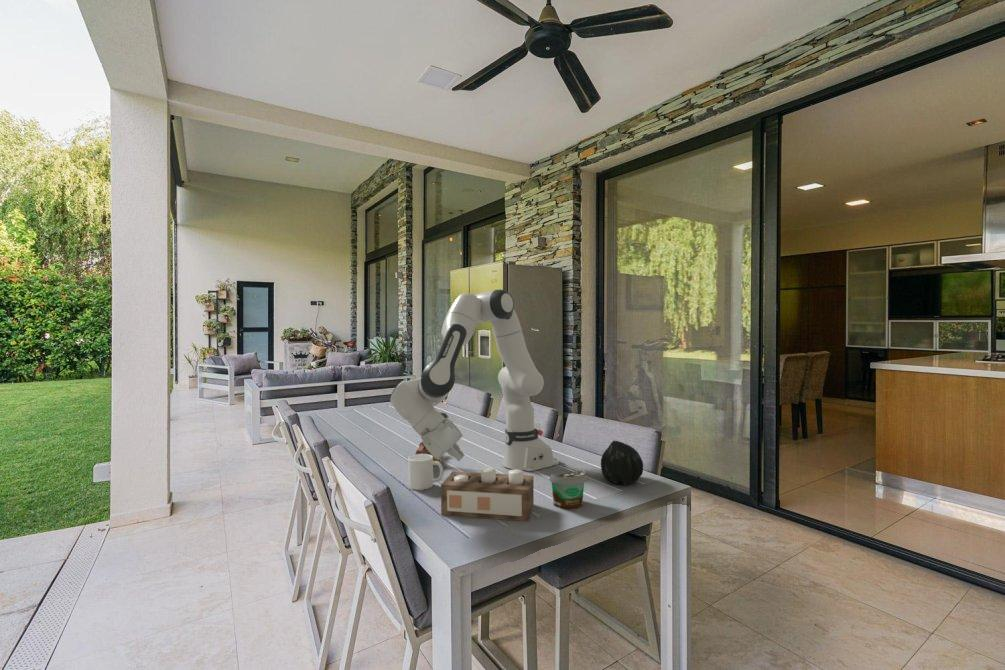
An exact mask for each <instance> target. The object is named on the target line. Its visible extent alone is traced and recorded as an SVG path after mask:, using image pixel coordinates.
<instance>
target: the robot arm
mask: <svg viewBox="0 0 1005 670" xmlns="http://www.w3.org/2000/svg"><path fill="white" fill-rule="evenodd" d="M514 308H515V301H514V299H513V296H512V294H510V292H509V291H508V290H506V289H495V290H487V291H482V292H479V293H476V294H473V293H469V292H464V293H463V292H462V293H460V294H459V295H458V296H457V297H456V298H455V300H454V301H453V302H452V304H451V306H450V307H449V309H448V311H447V313H446V315H445V318H444V320H443V322H442V327H441V333H440V334H441V337H442V343H441V345H440V347H439V350H438V352H437V354H436V356H435V358H434V359H433V360H432V361H431V362H430V363H429V364H428V365H427V366H425V368H424V369H423V371H422V372H421V375H420V377H419V378H415V379H411V380H401V381H400V382H399V383H398V384H397V385H396V386H395V387H394V388H393V390H392V392H391V394H390V403H391V405H392V406H393V408H394V409H395V410H396V412H397V413H398V414H399V415H400V416H401V418H403V420H406V421H407V422H408V423H409V424H410V426H411V428H412V429H413V430H414V431H415V432H416V433H417V434H418V435H419V437H420V438H421V440H422V441H421V442H423V444H424V446H425V447H426V448H427V450H428V451H429V452H430V453H431V454H432V456H433V457H434V458H436V459H439V460H441V458H442V457H443V456H444V455H445V454H446V453H447V454H448V455H449V456H451V457H453V458H454V459H455V460H456V461H457V462H460V461H461V460H462V459H463V458H464V457H465V454H464V452H463V451H462V450H461V448H460V446H459V444H458V443H457V442H459V441H460V440H461V439H462V438H463V433H462V431H461V430H460V429H459V427H457V425H456V424H455V423H454V422H453V421H452V420H451V419H449V418H450V417H449V416H450V415H448V414H447V413H446V412H442V411H437V409H435V406H437V405H438V404H440V403H442V402H443V401H444V400H445V399H446V397H447V395H448V394H449V393H450V392H451V391H452V390H453V388H454V385H455V382H456V378H455V377H456V374H455V366H456V363H457V360H458V358H459V354H460V352H461V350H462V347H464V346H466V345H467V344H468V343H469V342H470V340H471V338H472V336H473V335H474V334H475V331H476V328H477V326H478V323H491V328H492V333H493V337H494V341H495V345H496V350H497V352H498V356H499V358H500V359H501V360H502V362H503V364H504V366H503V367H502V368H501V369H500V371H499V372H498V374H497V381H498V383H499V386H500V388H501V391H502V395H503V396H502V397H503V401H504V406H505V422H506V423H505V426H506V427H505V429H504V432H505V433H504V441H505V450H504V455H503V456H504V457H503V460H502V464H501V465H502V466H503V467H504V468H506V469H507V468H508V469H510V470H514V469H518V470H522V471H527V472H533V471H537V470H541V469H545V468H549V467H553V465H554V466H558V465H560V463H559V459H558V458H556V457H555V456H554V455H553V449H552V447H551V446H550V444H549V443H546V442H545V441H544V440H543V439H541V438H540V437H539V436H543V435H544V432H543V430H541V429H537V428H535V409H534V406H533V405H532V402H531V398H530V397H533V396H536V395H538V394H540V393H541V392H542V391H543V388H544V383H545V382H544V381H545V380H544V377H543V375H542V374H541V373H540V372H539V370H538V369H537V368H536V366H535V363H534V361H533V360H532V358H531V355H530V353H529V351H528V348H527V344H526V340H525V338H524V333H523V330H522V326H521V323H520V320H519V317H518V314H517V313H516V312H517V311H516V310H515V309H514Z"/></svg>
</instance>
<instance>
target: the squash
mask: <svg viewBox="0 0 1005 670" xmlns="http://www.w3.org/2000/svg"><path fill="white" fill-rule="evenodd" d="M600 470H601V473H602V475H603V477H604V478H605V479H606V480H608V481H609V482H610V483H611V482H613V484H615V485H620V484H622V485H624V486H625V485H626V486H627V485H628V486H629V484H631V483H634V482H635V483H636V482H637V481H638V480H639V479H640V478H641V476H643V472H644V462H643V460H642V457H641V454H639V452H638V451H637V450H636V449H635V448H634V447H632V446H630V445H629V444H626V443H624V442H622V441H619V440H612V442H610V444H609V445H608V447H607V448H606V449H605V451H604V452H603V454H602V456H601V459H600Z"/></svg>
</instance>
